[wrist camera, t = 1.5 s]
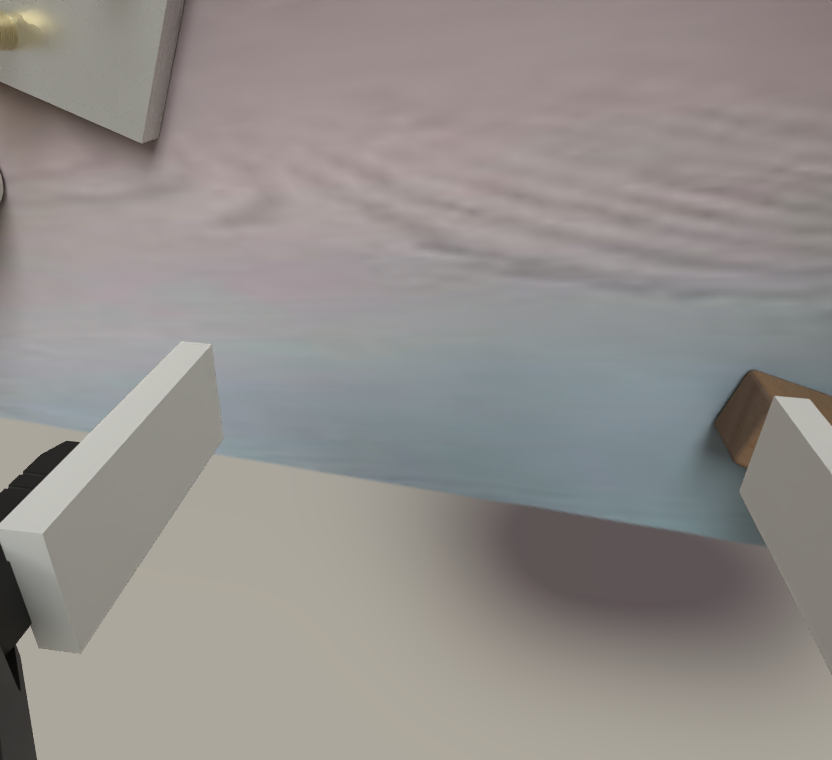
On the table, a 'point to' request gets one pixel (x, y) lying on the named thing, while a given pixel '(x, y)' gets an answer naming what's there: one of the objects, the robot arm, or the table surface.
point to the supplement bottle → (1, 187)
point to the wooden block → (759, 411)
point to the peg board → (94, 58)
